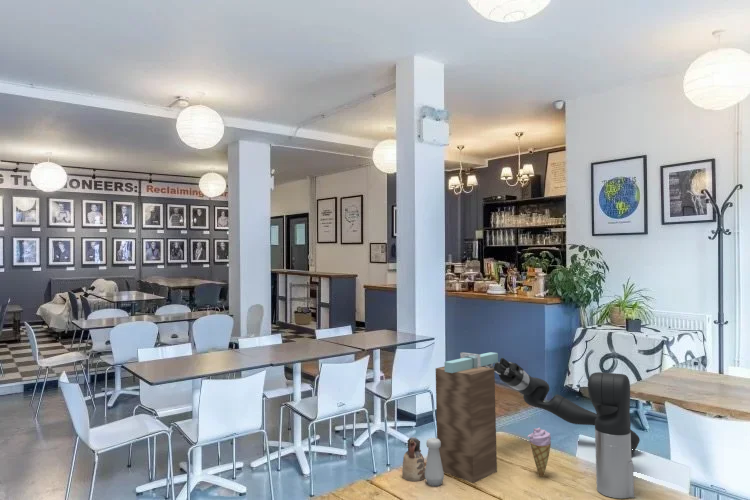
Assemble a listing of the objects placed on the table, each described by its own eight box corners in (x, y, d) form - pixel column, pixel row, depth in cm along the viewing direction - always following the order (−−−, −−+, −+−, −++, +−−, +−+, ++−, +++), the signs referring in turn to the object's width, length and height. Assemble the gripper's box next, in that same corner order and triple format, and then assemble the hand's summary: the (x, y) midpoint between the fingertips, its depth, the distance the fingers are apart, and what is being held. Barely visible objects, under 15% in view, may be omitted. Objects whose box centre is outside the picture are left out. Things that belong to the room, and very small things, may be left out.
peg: (490, 361, 175) (490, 352, 175) (498, 362, 172) (497, 353, 172) (444, 371, 159) (444, 361, 159) (452, 373, 156) (451, 363, 156)
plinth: (496, 471, 161) (494, 368, 162) (473, 482, 153) (470, 374, 154) (461, 459, 171) (459, 363, 172) (437, 469, 163) (435, 368, 164)
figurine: (428, 473, 160) (427, 435, 160) (421, 483, 153) (420, 442, 154) (406, 470, 163) (406, 432, 163) (399, 479, 156) (398, 439, 156)
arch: (480, 368, 163) (480, 354, 163) (477, 368, 162) (477, 355, 162) (463, 365, 168) (463, 352, 168) (460, 366, 167) (460, 352, 167)
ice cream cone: (527, 477, 156) (525, 427, 156) (531, 470, 161) (529, 422, 162) (550, 481, 153) (548, 430, 153) (553, 473, 158) (551, 424, 159)
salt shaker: (443, 488, 149) (442, 443, 150) (423, 486, 151) (422, 442, 151) (444, 479, 155) (443, 436, 156) (425, 478, 156) (425, 435, 157)
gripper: (529, 390, 175) (505, 372, 166) (494, 383, 186) (469, 366, 177) (534, 369, 178) (511, 351, 169) (500, 363, 189) (476, 346, 179)
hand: (490, 359), depth 173 cm, fingers open, 8 cm apart
